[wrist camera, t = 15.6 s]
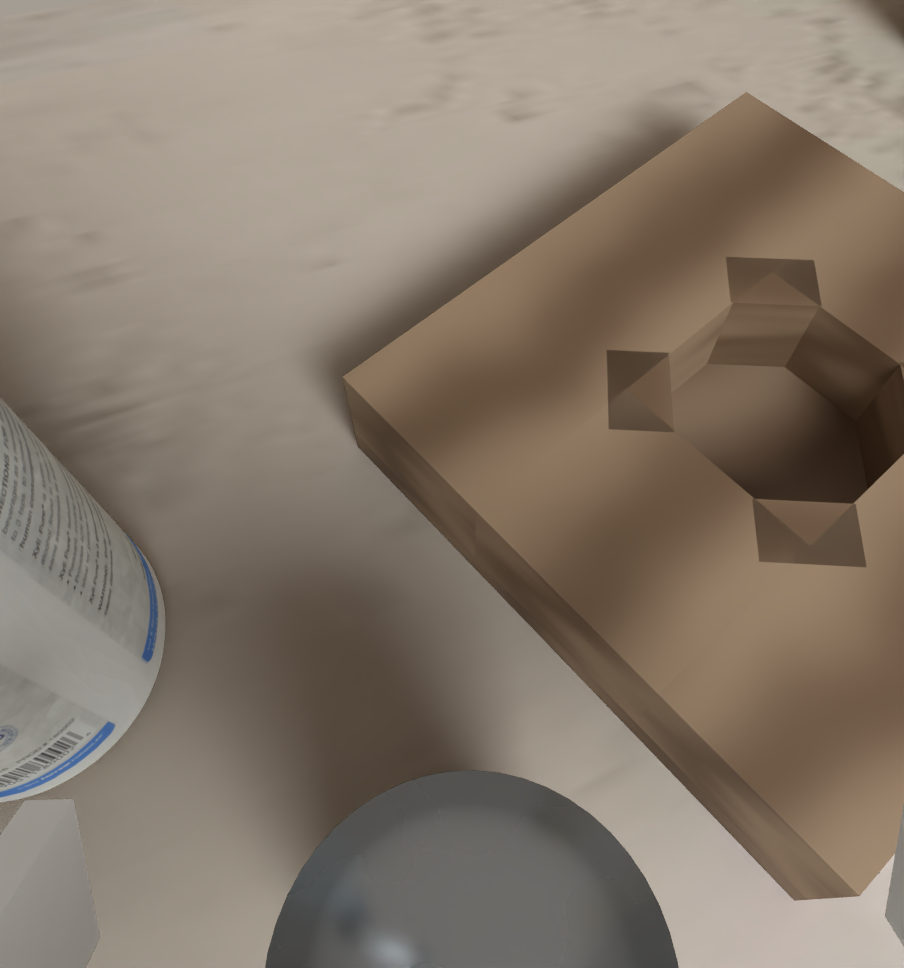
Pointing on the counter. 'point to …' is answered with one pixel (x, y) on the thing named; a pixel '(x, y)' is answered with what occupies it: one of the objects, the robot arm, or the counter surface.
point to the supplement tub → (66, 620)
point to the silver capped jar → (470, 885)
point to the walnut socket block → (694, 474)
